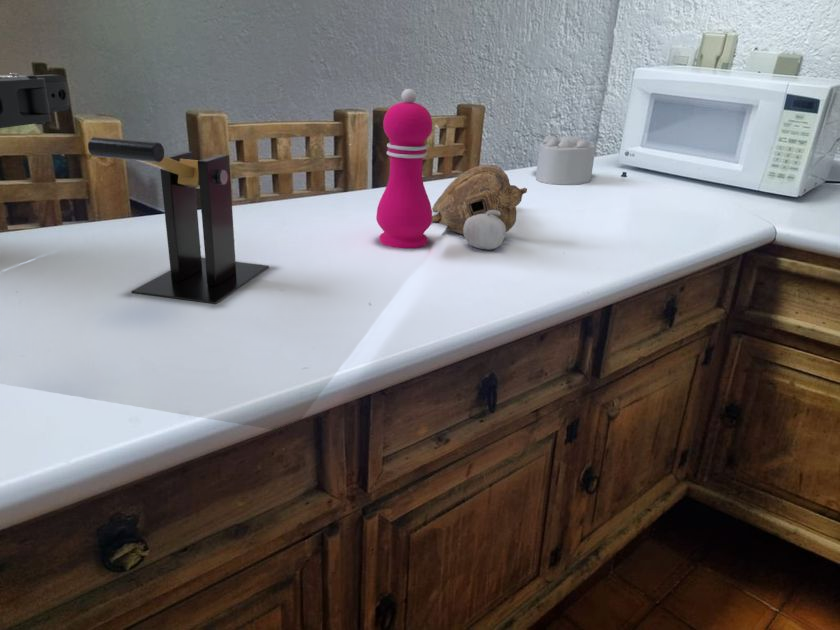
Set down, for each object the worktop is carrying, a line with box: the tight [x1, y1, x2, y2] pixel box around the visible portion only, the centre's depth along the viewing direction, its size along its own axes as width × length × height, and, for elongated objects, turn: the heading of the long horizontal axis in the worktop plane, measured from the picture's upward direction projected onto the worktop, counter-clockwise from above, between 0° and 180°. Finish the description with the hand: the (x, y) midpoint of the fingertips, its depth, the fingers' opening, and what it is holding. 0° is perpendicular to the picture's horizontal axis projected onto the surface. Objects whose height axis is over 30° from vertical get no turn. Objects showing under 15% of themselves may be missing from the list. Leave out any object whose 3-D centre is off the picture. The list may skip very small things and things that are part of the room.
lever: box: [87, 136, 200, 190], centre depth 60 cm, size 13×6×2 cm, turn 167°
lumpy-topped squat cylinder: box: [535, 135, 596, 186], centre depth 138 cm, size 10×13×9 cm
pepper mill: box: [376, 88, 433, 249], centre depth 82 cm, size 7×7×20 cm
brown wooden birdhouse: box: [431, 164, 528, 236], centre depth 101 cm, size 10×24×15 cm
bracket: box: [130, 150, 270, 305], centre depth 67 cm, size 12×9×14 cm
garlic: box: [463, 210, 507, 251], centre depth 88 cm, size 6×5×5 cm
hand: (8, 87), depth 44 cm, fingers open, 8 cm apart
